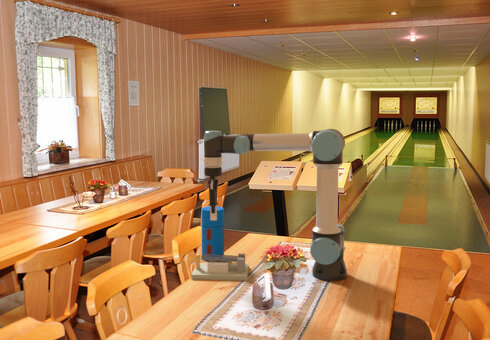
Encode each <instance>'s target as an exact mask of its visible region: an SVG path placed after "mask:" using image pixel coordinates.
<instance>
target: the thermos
mask: <svg viewBox="0 0 490 340" xmlns="http://www.w3.org/2000/svg"><path fill="white" fill-rule="evenodd" d="M202 254H216V255H225V209H224V207H222V206H218V205H217V220H210V206H209V205H208V206H204V207H202V208H201V255H202ZM202 261H204V262H205V263H208V261H209V260H202Z"/></svg>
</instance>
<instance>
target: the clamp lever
mask: <svg viewBox="0 0 490 340" xmlns="http://www.w3.org/2000/svg"><path fill="white" fill-rule="evenodd" d="M238 258H244V256H242V255H241V256H238V255H229V254H228V255H227V254H224V255H216V254H202V253H201V255H200V261H203V260H214V261H230V263H233V262H234V263H237V259H238Z"/></svg>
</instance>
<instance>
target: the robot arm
mask: <svg viewBox="0 0 490 340" xmlns="http://www.w3.org/2000/svg"><path fill="white" fill-rule="evenodd" d="M203 136H204V137H203V147H204V148H203V152H204V156H203V157H204V158H203V159H202V162H204V176H205V177H209V179H208V181H207V184H208V192H209V193H208V196H209V197H208V198H209V199H208V200H209V204H208V207H209V206H210V220H217V206H218V205H219V202H218V183H219V179H218V177H221V176H222V175H223V168H222V165H223V156H222V155H223V154H233V155H234V154H237V155H243V154H244V155H245V154H248V153H249V152H267V151H268V152H284V151H285V152H311V153H312V164H313V165H314V166H315V168H316V192H315V193H316V194H315V195H316V197H315V199H316V204H315V205H316V206H315V216H316V217H315V226H314V227H313V228H312V229H311V232H312V233H311V234H312V235H311V236H312V237H311V239H312V240H311V244H310V247H309V249H310V255H311V257H312V259H314V263H313V267H312V270H311V274H312V276H313V277H314V278H317V279H319V280H322V281H330V282H335V281H342V280H345V279H346V278H347V277H348V270H347V267H346V263H345V259H344V253H345V252H344V251H345V233H346V232H345V226H344V225H342V224H341V223H340V224H338V217H339V216H338V212H339V210H338V208H339V207H338V206H339V203H338V202H339V168H340V167H341V166H342V165H343V151H344V149H345V147H346V146H345V145H346V140H345V137H344V135H343V134H342V132H340V131H339V130H338V129H335V128H327V129H321V130H312V132H309V133H306V132H304V133H300V132H299V133H242V134H237V135H223V134H222V131H221V130H206V131H204V135H203Z"/></svg>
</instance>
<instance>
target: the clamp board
mask: <svg viewBox="0 0 490 340" xmlns="http://www.w3.org/2000/svg"><path fill="white" fill-rule="evenodd" d="M241 255H242V256H244V258H238V259H237V262H234V263H233V262H230V261H214V260H209V261H208V262H201V254H200V253H196V254H195V266H194V269H193V271H192V272H191V275H190V278H191V280H208V281H209V280H212V281H213V280H215V281H216V280H218V281H248V278H249V277H248V276H249V269H250V264H249V263H246V253H238V255H237V256H241Z"/></svg>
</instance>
